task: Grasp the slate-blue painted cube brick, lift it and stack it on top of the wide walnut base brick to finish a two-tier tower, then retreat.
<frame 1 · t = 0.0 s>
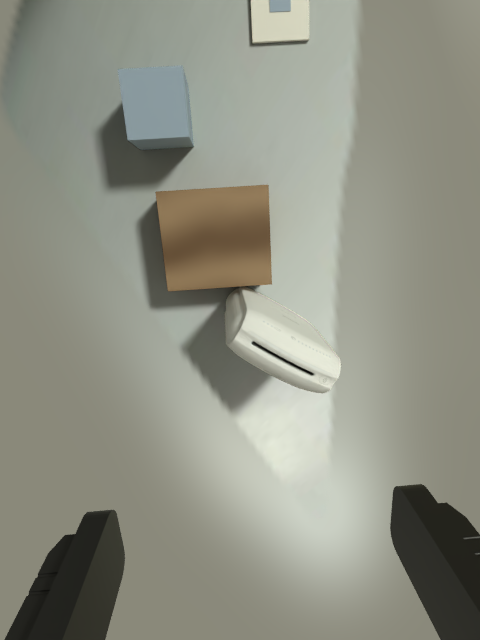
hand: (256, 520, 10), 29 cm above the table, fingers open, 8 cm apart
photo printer: (268, 317, 39), on the table
base brick: (216, 236, 37), on the table
top brick: (164, 119, 33), on the table
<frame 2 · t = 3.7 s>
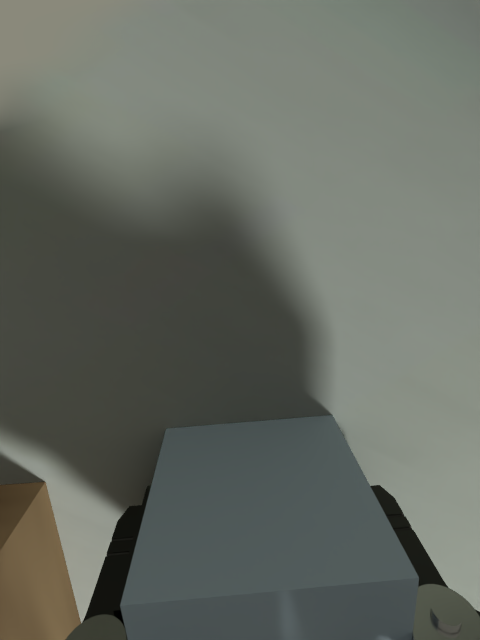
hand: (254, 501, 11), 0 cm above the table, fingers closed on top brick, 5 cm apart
top brick: (254, 489, 11), on the table, touching gripper
when the fingers open (5 cm above the table, at t = 9.9 s): top brick drops 1 cm, point 4 cm above the table.
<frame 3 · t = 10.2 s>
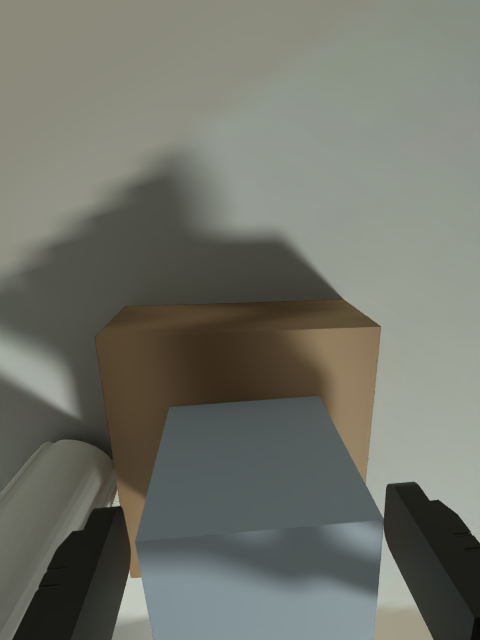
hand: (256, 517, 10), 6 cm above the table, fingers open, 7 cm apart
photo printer: (57, 516, 17), on the table, touching hand
base brick: (238, 406, 17), on the table
top brick: (248, 463, 13), point 4 cm above the table
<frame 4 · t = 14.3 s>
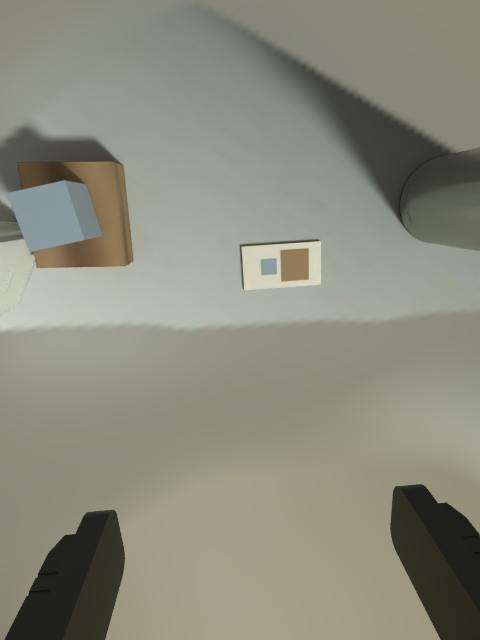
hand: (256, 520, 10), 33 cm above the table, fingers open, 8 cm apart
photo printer: (15, 265, 40), on the table
instruction page: (281, 265, 41), on the table
base brick: (88, 216, 39), on the table
top brick: (70, 216, 35), point 4 cm above the table
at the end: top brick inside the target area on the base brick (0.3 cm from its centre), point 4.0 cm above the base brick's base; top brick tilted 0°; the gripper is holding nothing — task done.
